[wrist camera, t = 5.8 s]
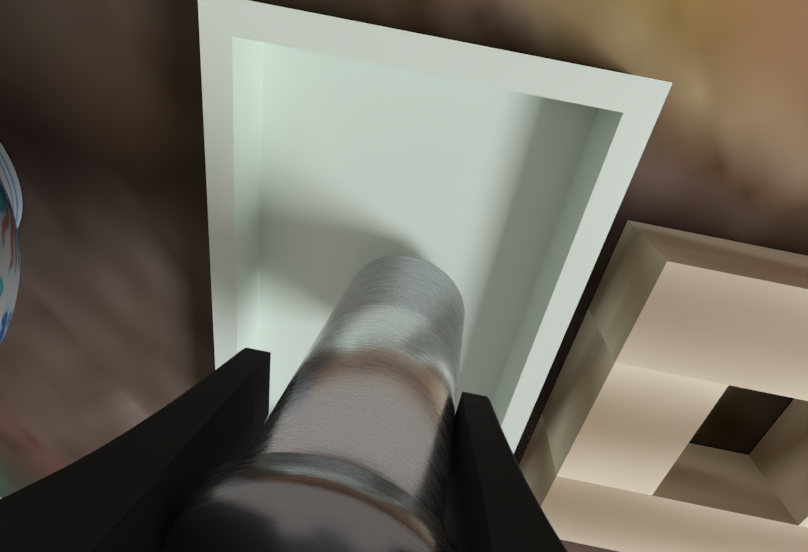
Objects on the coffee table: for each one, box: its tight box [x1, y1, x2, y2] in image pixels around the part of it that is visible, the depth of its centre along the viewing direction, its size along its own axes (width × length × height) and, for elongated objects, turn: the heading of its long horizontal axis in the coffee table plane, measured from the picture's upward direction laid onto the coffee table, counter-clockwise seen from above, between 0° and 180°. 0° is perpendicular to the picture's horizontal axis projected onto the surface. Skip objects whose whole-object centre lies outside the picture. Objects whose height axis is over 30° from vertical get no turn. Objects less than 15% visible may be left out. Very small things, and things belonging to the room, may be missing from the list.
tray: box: [198, 0, 672, 454], centre depth 15 cm, size 16×11×2 cm
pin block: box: [519, 220, 808, 552], centre depth 16 cm, size 12×12×3 cm
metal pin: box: [163, 255, 465, 552], centre depth 11 cm, size 5×5×9 cm
